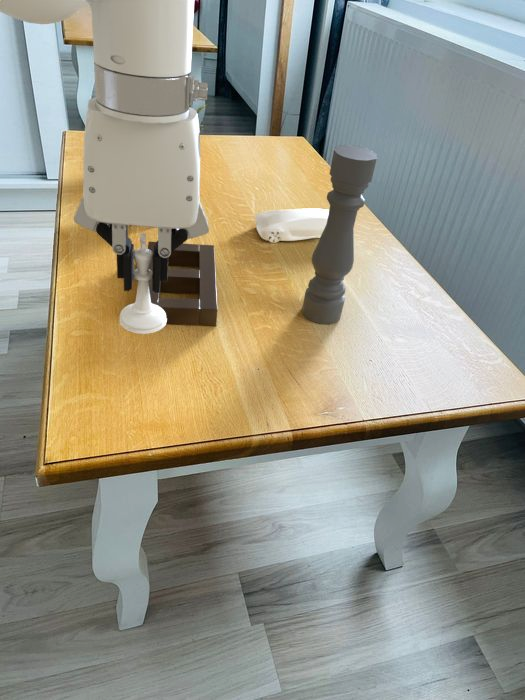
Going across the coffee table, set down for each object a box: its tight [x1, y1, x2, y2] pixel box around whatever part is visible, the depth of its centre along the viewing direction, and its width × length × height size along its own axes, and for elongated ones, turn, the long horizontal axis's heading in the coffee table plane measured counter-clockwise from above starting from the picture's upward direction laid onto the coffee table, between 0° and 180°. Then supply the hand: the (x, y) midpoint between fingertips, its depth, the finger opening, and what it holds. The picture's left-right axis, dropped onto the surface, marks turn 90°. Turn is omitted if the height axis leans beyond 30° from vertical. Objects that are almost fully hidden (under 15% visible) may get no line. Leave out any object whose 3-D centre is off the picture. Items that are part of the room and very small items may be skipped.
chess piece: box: [118, 233, 167, 335], centre depth 56 cm, size 5×5×10 cm
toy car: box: [254, 207, 329, 244], centre depth 106 cm, size 18×8×4 cm, turn 102°
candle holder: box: [301, 144, 378, 325], centre depth 79 cm, size 6×6×25 cm
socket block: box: [147, 241, 218, 327], centre depth 86 cm, size 11×19×3 cm, turn 5°
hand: (142, 283), depth 56 cm, fingers closed on chess piece
